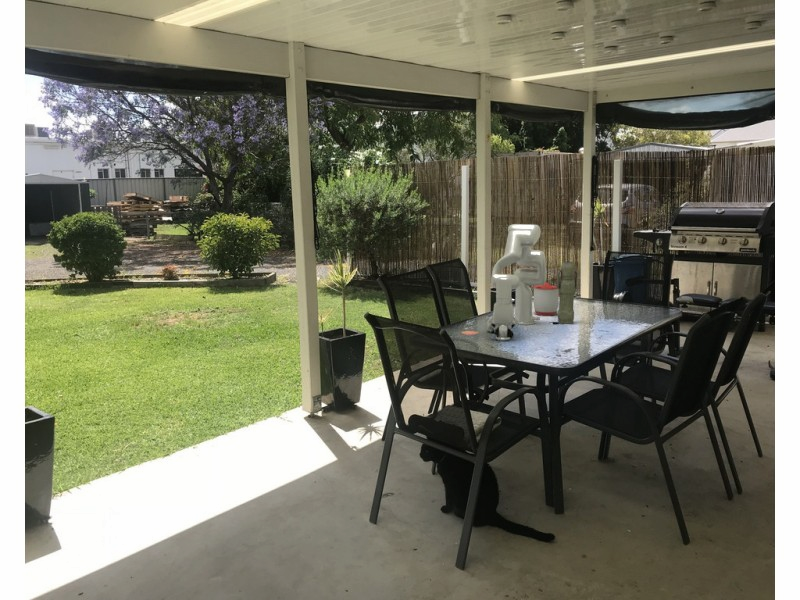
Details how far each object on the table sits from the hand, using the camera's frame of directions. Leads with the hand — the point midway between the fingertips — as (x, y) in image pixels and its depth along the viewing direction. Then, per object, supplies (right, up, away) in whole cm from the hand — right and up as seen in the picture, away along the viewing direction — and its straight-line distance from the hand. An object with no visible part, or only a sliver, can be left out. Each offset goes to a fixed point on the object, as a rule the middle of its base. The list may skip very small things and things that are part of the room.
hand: (503, 336), depth 326 cm
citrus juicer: (+38, +9, +68) cm, 78 cm away
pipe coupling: (0, -1, 0) cm, 2 cm away
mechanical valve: (+2, 0, +13) cm, 13 cm away
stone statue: (+42, +5, +41) cm, 60 cm away
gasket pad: (-15, +1, +16) cm, 22 cm away
